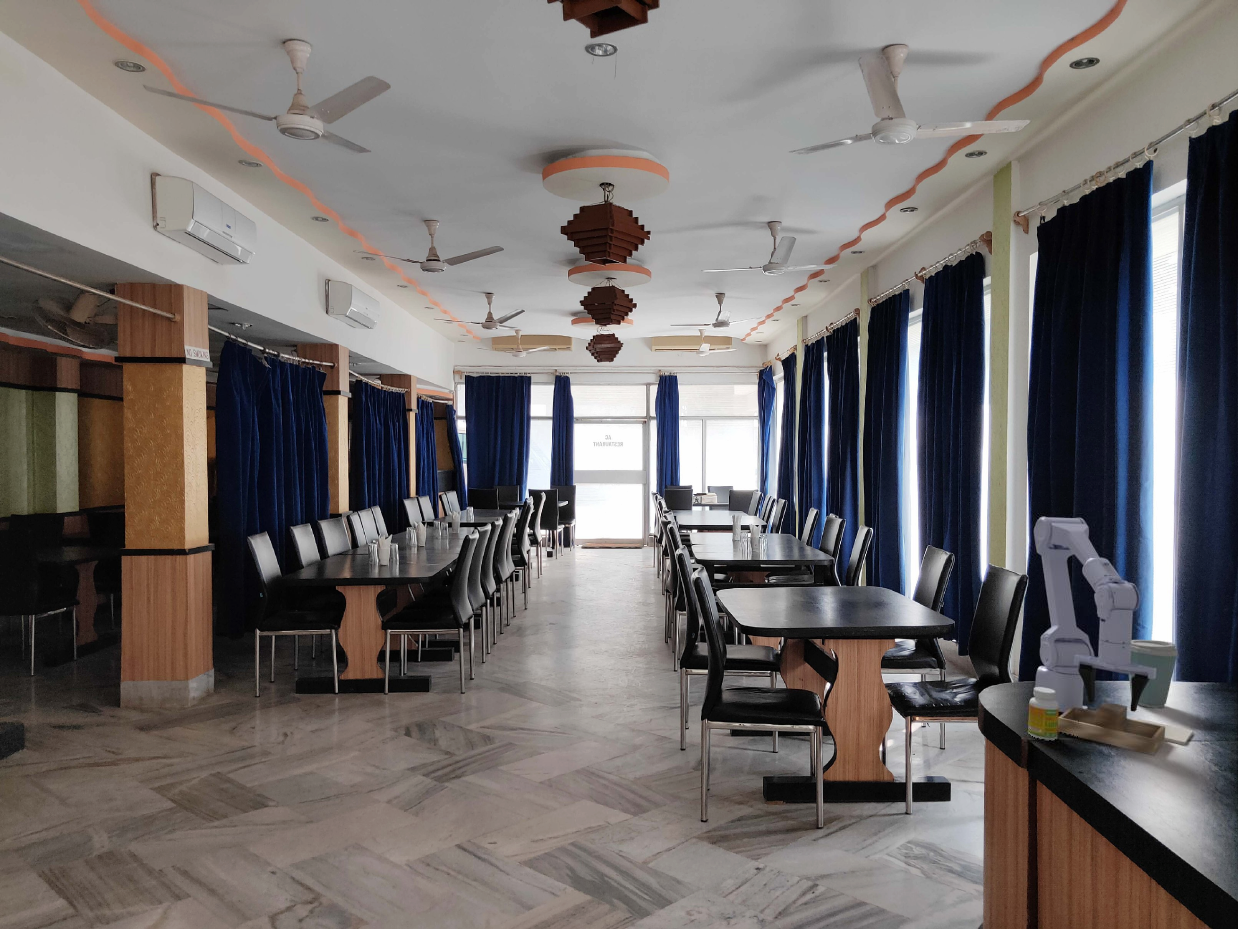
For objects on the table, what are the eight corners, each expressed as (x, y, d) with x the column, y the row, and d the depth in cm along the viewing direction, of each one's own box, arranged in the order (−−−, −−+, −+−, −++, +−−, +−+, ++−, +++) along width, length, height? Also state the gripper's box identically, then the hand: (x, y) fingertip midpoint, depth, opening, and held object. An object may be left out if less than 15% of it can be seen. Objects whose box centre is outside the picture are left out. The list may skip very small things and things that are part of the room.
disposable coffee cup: (1120, 704, 191) (1123, 641, 190) (1123, 694, 200) (1126, 633, 199) (1175, 714, 185) (1178, 649, 184) (1175, 703, 193) (1178, 640, 193)
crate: (1057, 731, 170) (1058, 717, 170) (1071, 719, 179) (1072, 706, 179) (1153, 755, 159) (1154, 739, 159) (1164, 741, 167) (1165, 726, 167)
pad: (1127, 732, 172) (1128, 729, 172) (1137, 721, 179) (1138, 718, 179) (1184, 745, 165) (1185, 742, 165) (1192, 733, 172) (1192, 730, 172)
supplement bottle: (1046, 742, 164) (1048, 695, 164) (1022, 733, 169) (1024, 687, 168) (1063, 739, 166) (1065, 692, 166) (1038, 730, 171) (1041, 684, 171)
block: (1094, 738, 167) (1096, 709, 167) (1104, 729, 173) (1105, 701, 173) (1117, 744, 164) (1118, 714, 164) (1125, 734, 170) (1127, 706, 170)
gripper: (1070, 637, 170) (1068, 701, 170) (1152, 650, 160) (1149, 718, 161) (1079, 632, 175) (1077, 694, 176) (1159, 645, 165) (1156, 711, 166)
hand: (1112, 705), depth 168 cm, fingers open, 7 cm apart
